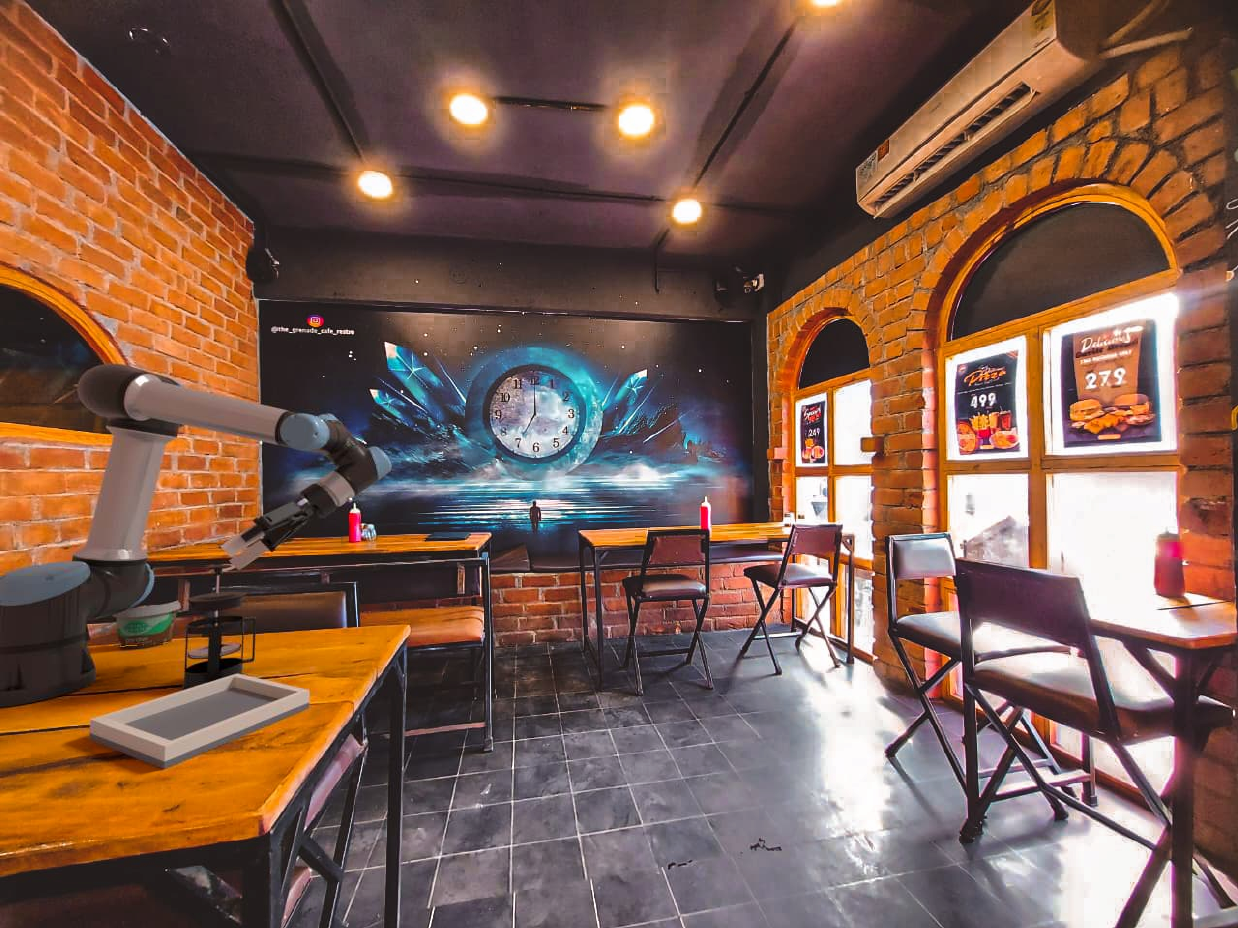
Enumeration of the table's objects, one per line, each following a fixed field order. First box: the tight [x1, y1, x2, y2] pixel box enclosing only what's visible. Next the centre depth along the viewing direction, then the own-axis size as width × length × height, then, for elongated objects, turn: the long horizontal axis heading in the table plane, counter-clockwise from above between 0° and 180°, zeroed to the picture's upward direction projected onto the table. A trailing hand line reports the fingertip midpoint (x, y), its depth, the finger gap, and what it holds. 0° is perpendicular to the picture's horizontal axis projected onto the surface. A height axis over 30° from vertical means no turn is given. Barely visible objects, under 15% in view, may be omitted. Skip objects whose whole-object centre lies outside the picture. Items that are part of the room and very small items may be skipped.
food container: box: [112, 599, 181, 651], centre depth 119 cm, size 12×6×10 cm, turn 123°
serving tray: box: [88, 673, 311, 770], centre depth 80 cm, size 20×20×3 cm
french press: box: [181, 564, 257, 691], centre depth 98 cm, size 12×9×23 cm
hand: (229, 559), depth 99 cm, fingers open, 13 cm apart
